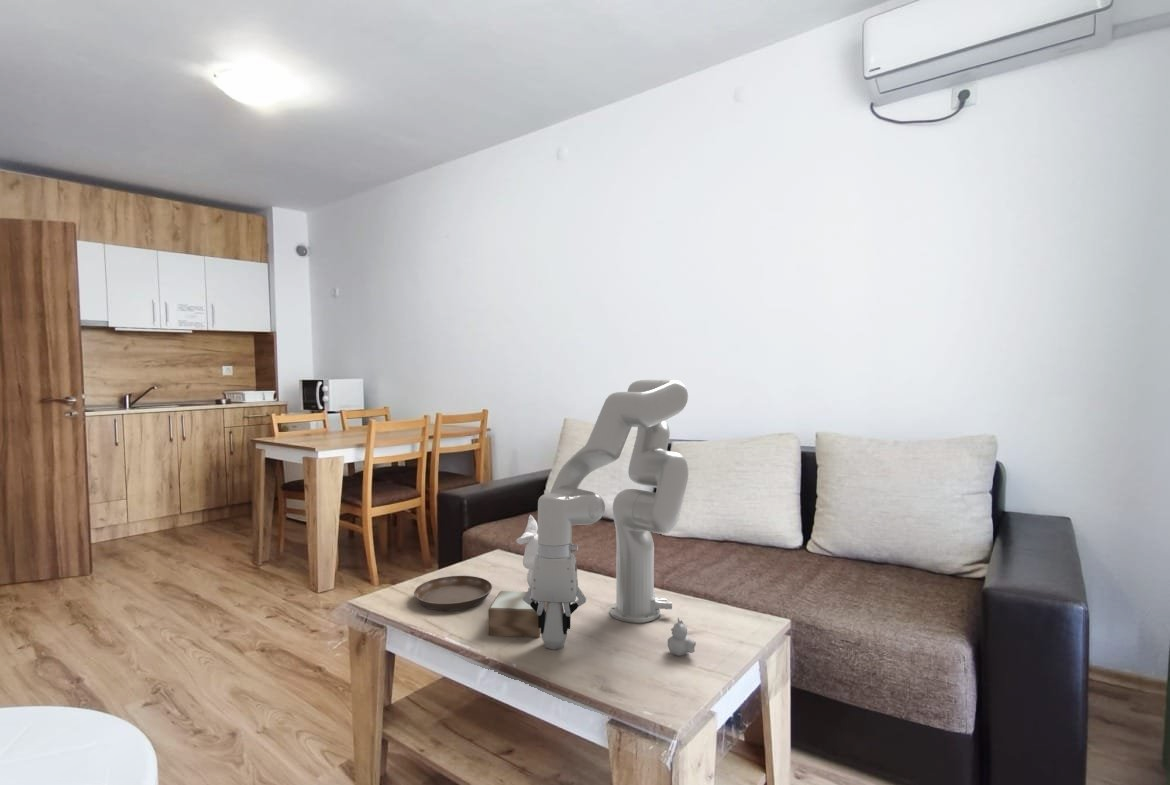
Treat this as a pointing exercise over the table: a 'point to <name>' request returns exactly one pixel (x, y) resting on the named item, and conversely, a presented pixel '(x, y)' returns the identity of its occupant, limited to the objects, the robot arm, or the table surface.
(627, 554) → the robot arm
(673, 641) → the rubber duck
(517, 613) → the square box
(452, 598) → the plant saucer
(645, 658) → the table surface
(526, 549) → the cherub figurine
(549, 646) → the salt shaker
